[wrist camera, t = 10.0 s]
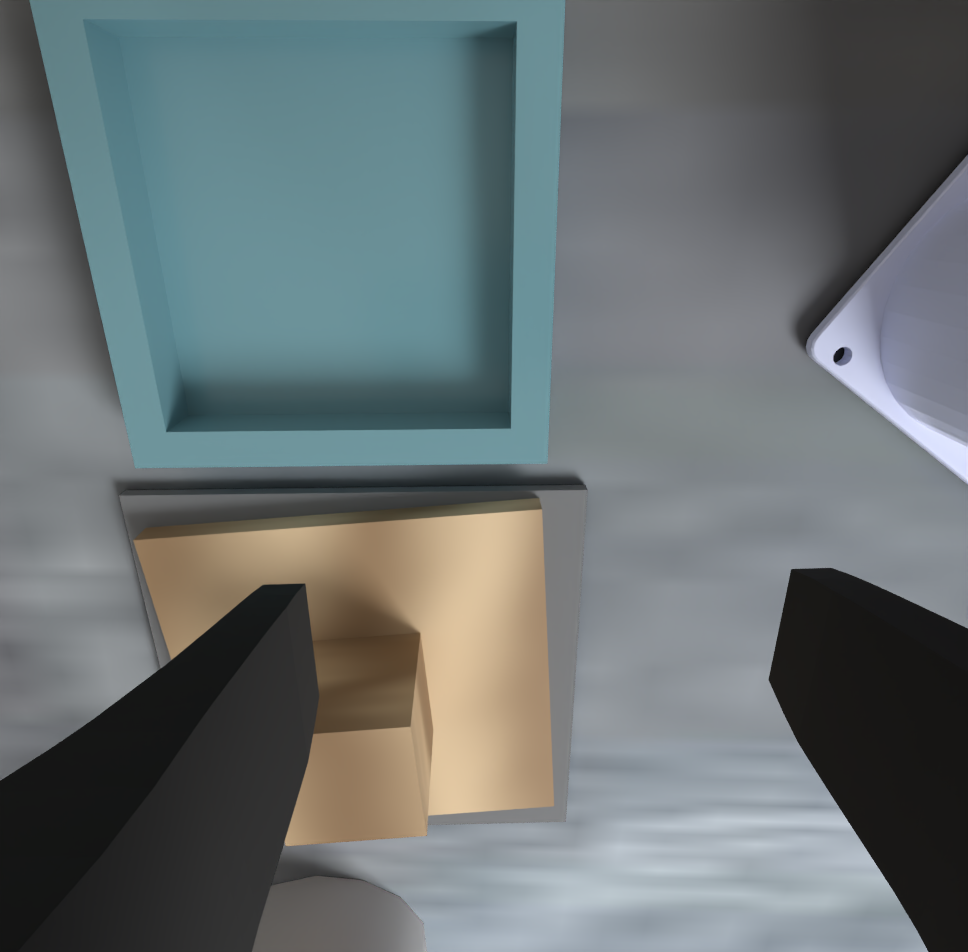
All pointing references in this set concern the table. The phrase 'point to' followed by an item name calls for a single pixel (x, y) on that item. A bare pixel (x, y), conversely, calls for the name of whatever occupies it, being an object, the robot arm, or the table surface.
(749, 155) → the table surface
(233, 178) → the teal dish
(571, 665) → the rubber mat
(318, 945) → the cup
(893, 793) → the robot arm
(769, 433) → the table surface
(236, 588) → the oak cover
